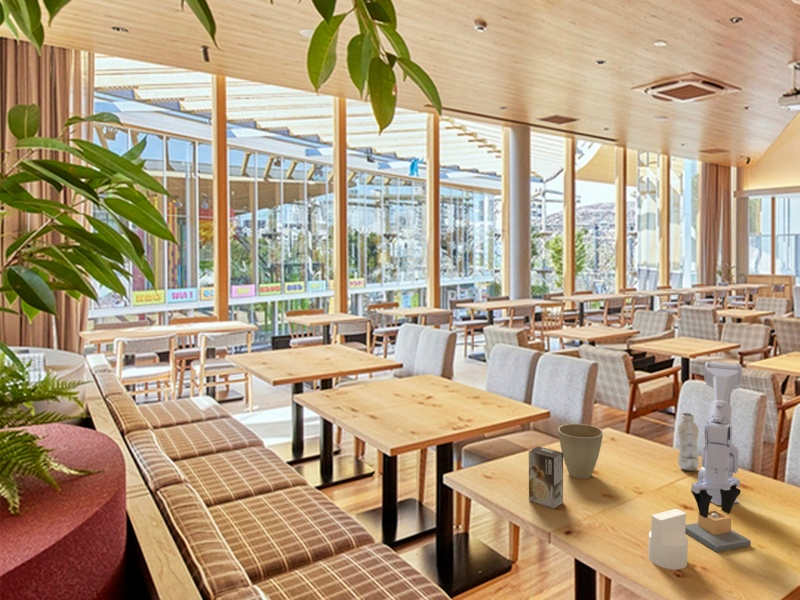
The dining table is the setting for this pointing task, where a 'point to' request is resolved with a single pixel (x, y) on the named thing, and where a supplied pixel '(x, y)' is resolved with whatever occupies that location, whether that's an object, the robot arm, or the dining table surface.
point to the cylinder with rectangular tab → (668, 540)
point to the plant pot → (580, 448)
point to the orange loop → (715, 522)
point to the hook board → (717, 538)
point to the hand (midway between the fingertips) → (714, 514)
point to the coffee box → (546, 477)
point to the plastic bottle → (688, 443)
